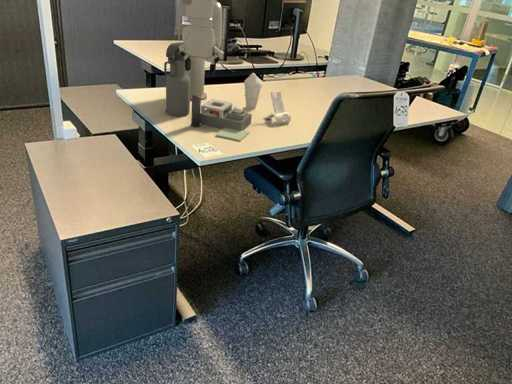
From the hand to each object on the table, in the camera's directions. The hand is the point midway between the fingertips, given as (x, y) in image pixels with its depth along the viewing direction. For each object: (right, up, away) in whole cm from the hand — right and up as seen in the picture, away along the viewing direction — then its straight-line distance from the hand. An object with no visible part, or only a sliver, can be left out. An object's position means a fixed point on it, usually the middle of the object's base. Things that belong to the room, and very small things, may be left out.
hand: (200, 72), depth 157 cm
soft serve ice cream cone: (+18, -6, +38) cm, 42 cm away
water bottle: (-12, -11, +21) cm, 27 cm away
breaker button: (+5, -14, +15) cm, 21 cm away
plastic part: (+29, -14, +24) cm, 41 cm away
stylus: (-3, -18, +9) cm, 21 cm away
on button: (+13, -13, +11) cm, 22 cm away
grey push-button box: (+8, -17, +15) cm, 24 cm away
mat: (+12, -22, +5) cm, 26 cm away
